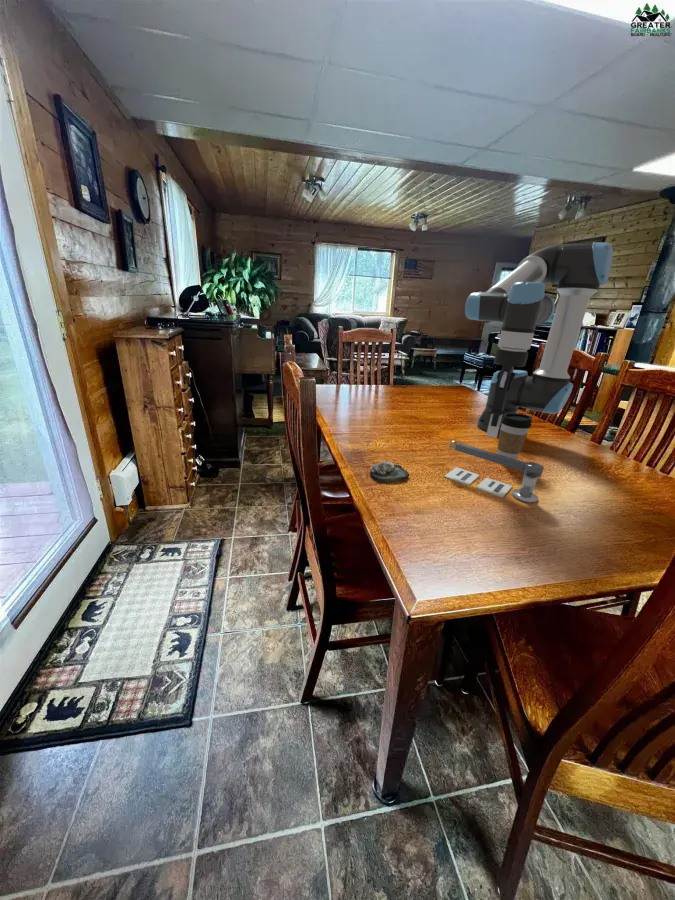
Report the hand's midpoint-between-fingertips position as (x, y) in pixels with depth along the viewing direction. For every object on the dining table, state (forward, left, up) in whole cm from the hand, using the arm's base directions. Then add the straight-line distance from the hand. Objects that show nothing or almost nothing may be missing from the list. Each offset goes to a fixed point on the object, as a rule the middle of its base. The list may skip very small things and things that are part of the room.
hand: (491, 436), depth 98 cm
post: (+6, +13, -12) cm, 18 cm away
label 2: (+7, +6, -12) cm, 15 cm away
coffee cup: (-15, +2, -12) cm, 20 cm away
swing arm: (+6, +3, -5) cm, 8 cm away
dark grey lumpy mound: (+21, -19, -12) cm, 31 cm away
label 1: (+7, -3, -12) cm, 14 cm away
